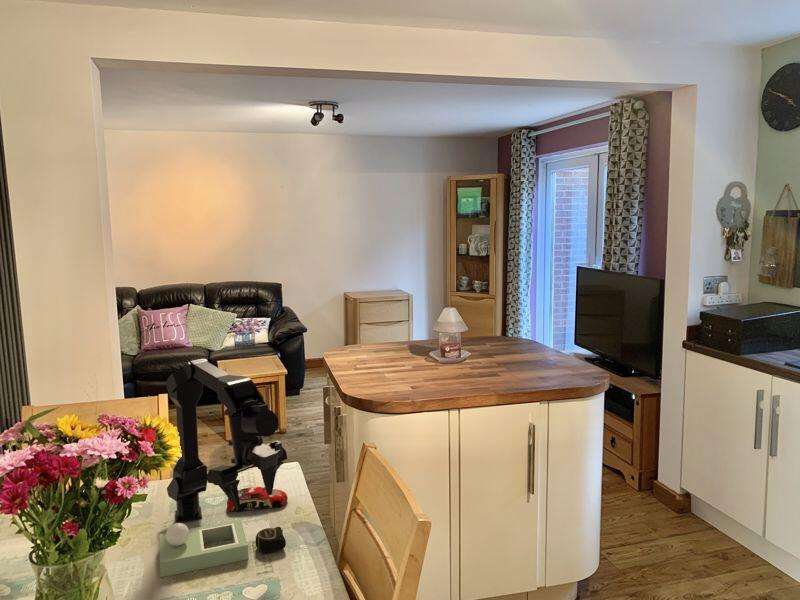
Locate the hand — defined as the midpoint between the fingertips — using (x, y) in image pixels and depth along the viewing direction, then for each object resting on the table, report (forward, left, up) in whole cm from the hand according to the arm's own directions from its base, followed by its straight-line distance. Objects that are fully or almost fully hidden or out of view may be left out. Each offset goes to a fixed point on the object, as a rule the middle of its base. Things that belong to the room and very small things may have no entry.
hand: (254, 501), depth 137 cm
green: (-8, -11, -14) cm, 20 cm away
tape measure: (-5, +5, -15) cm, 16 cm away
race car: (-28, +4, -15) cm, 32 cm away
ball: (-8, -17, -8) cm, 20 cm away
